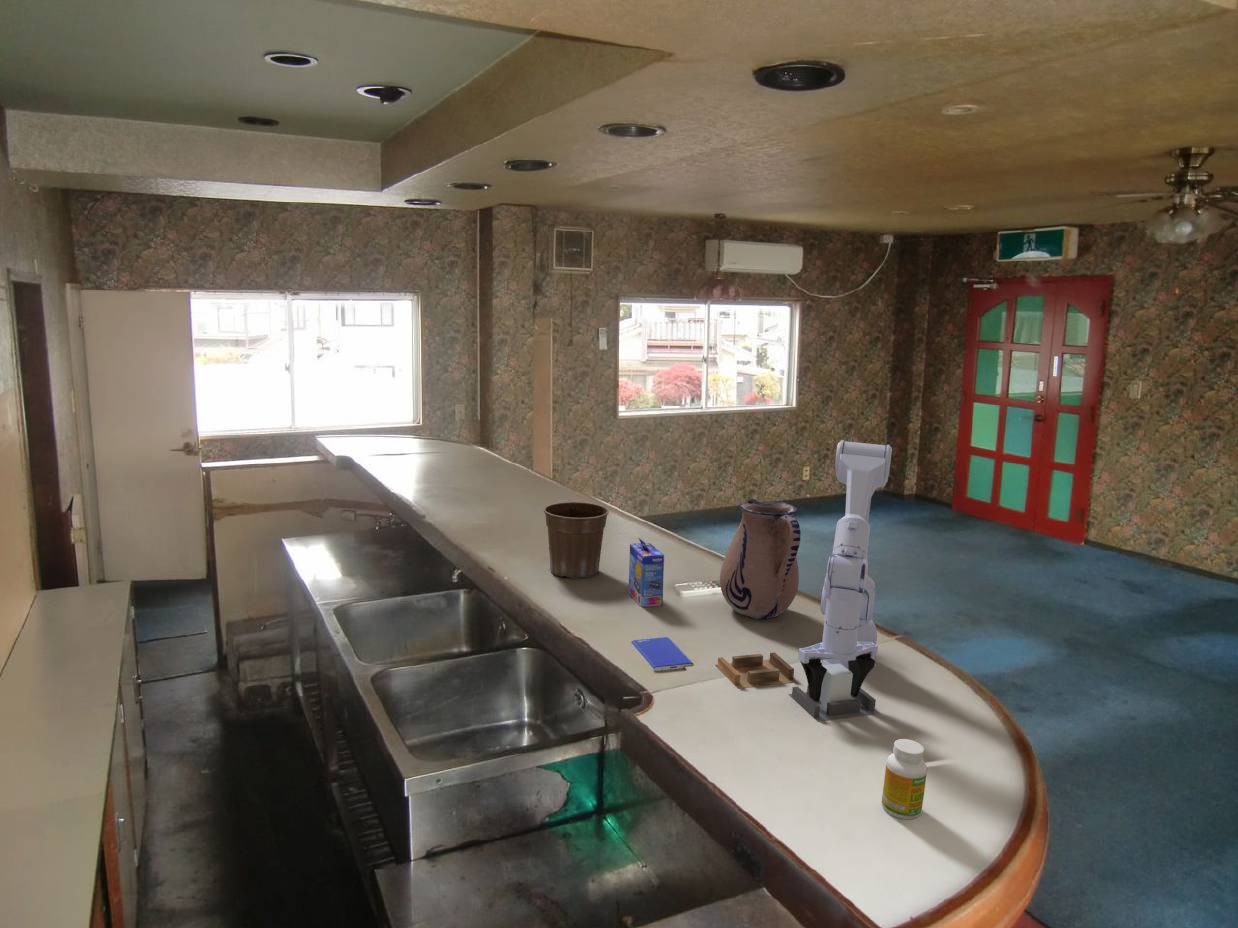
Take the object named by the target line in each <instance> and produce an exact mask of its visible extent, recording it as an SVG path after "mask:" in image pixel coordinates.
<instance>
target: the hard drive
mask: <svg viewBox="0 0 1238 928" xmlns="http://www.w3.org/2000/svg"><path fill="white" fill-rule="evenodd" d="M630 643H631V644H630V645H631V647H632V646H633V647H632V648H633V649H634V650H635V649H636V650H637V651H636V650H635V651H636V652H638V653H639V654H640V655H641V656H642V657H641V656H640V655H639V654H638V653H637V654H638V655H639V656H640V657H641V658H642V660H643V659H644V660H645V661H646V662H645V661H644V660H643V661H644V662H645V663H646V665H647V666H648V667H649V666H650V667H651V668H650V667H649V668H650V669H651V670H652V672H661V670H663V671H670V669H671V671H672V670H679V668H680V669H686V666H694V663H693V661H692V660H691V659H689V658H688V657H687V655H686V654H685V653H684V652H683V651H682V650H681V649H680V648H679V647H678V646H677V645H676V643H675V642H673V640H672V639H671V638H670V637H667V636H664V637H654V638H653V637H651V638H643V639H633V640H632V641H631V642H630Z"/></svg>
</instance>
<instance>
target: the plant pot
mask: <svg viewBox="0 0 1238 928" xmlns="http://www.w3.org/2000/svg"><path fill="white" fill-rule="evenodd" d="M543 512H544V514H545V523H546V524H545V525H546V527H547V533H548V537H547V538H548V551H549V553H548V554H549V566H550V567H549V569H550V572H551V573H552V574H553V575H555V576H558V577H561V578H563V577H564V576H565V577H567V578H568V579H587V578H590V577H594V576H595V575H596V574H599V570H600V561H601V553H602V545H603V538H604V537H603V536H604V530H605V528H606V525H607V517H608V515H609V514H610V510H609V508H607V507H605V506H604V505H600V504H597V503H590V502H582V501H581V502H580V501H566V502H563V501H562V502H556V503H551V504H548V505H546V506H545V507H543Z"/></svg>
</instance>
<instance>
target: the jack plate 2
mask: <svg viewBox="0 0 1238 928" xmlns="http://www.w3.org/2000/svg"><path fill="white" fill-rule="evenodd" d="M806 688H807V690H806V691H803V690H802V689H801V688H800V687H799V686H792V690H791V693H788V696H789V697H790V698H791V699H792V700H793V701H795V703H796V704H798V705H799V706H800V707H801V708H802V709H803V710H804V711H805V712H806V713H808V715H810V716H811V717H812V718H813V719H814V720H815V721H816V722H819V723H820V722H826V721H827V722H828V721H835V720H843V719H850V718H851V719H852V718H859V717H866V716H875V715H879V713H878V712H877V711H876V710H875V709H876V701H877V700H876V699H875V698H874V697H873V696H872V695H870V694H869V693H868V692H866V691H865V690H864V689H863V688H862V687H861V688H860V690H859V693H858V695H857V697H853V696H852V695H851V694H850V700H844V701H835V702H827V708H825V707H824V706H823V705H822V704H821V703H820V702H819V701H814V700H813V699H812V698H811V697H810V694H809V687H808V685H807V687H806Z"/></svg>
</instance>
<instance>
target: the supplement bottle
mask: <svg viewBox="0 0 1238 928" xmlns="http://www.w3.org/2000/svg"><path fill="white" fill-rule="evenodd" d="M892 751H893V752H892V753H891V754H889V755H888V757H887V761H886V763H885V770H884V771H885V772H884V779H883V787H882V796H881V806H882V809H883V810H884V811H886V813H888V814H889V815H891V816H892V817H893V816H894V817H895V818H897V819H898V818H899V819H902V820H914V819H917V818H919V817H920V816H921V814H922V811H923V804H924V797H925V789H926V781H927V775H928V766H927V764H926V762H925V761H924V755H925V747H924V746H923V745H922V744H921V743H919V742H917V741H916V740H911V739H908V738H900V739H896V740H895V741H894V743H893V748H892Z"/></svg>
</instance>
